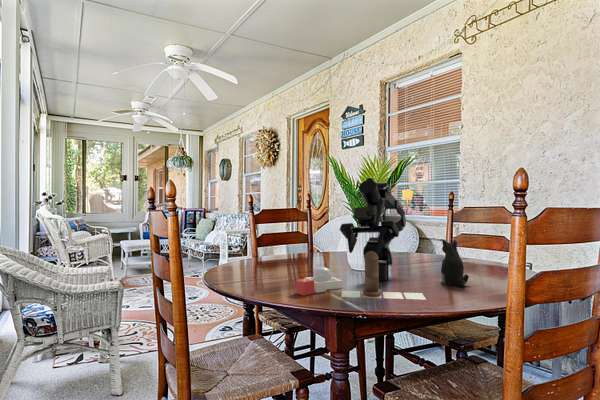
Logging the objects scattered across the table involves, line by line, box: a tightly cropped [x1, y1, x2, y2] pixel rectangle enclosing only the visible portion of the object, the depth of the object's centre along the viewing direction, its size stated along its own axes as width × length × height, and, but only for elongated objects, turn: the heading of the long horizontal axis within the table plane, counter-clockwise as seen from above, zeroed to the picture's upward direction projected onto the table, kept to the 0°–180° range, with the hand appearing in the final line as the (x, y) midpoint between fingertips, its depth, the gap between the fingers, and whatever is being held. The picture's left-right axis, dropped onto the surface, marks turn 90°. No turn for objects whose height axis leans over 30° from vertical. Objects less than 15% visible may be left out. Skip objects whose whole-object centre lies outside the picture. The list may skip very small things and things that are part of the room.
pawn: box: [362, 251, 382, 297], centre depth 111 cm, size 5×5×13 cm
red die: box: [294, 277, 315, 297], centre depth 116 cm, size 4×4×4 cm
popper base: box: [305, 276, 343, 294], centre depth 123 cm, size 9×9×3 cm
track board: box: [339, 290, 427, 301], centre depth 110 cm, size 24×10×1 cm, turn 81°
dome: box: [313, 266, 334, 282], centre depth 123 cm, size 6×6×6 cm
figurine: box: [438, 239, 470, 288], centre depth 126 cm, size 10×10×15 cm
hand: (363, 252), depth 119 cm, fingers open, 9 cm apart
